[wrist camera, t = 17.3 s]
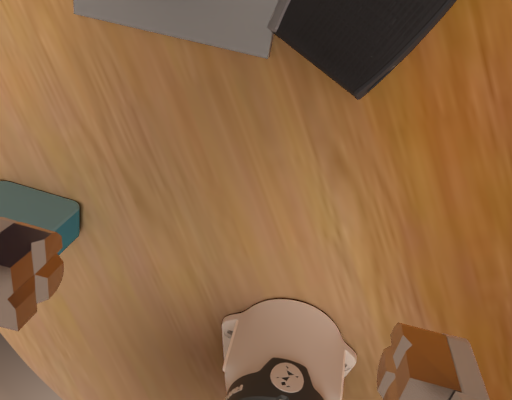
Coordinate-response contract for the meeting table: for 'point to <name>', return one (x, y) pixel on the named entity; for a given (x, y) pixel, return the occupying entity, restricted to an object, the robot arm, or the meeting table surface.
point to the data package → (41, 210)
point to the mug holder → (193, 20)
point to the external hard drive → (356, 35)
